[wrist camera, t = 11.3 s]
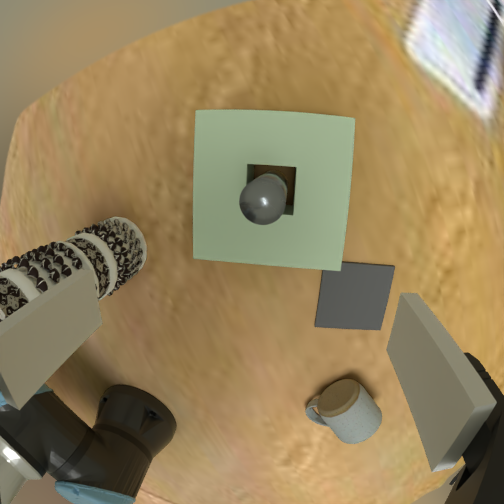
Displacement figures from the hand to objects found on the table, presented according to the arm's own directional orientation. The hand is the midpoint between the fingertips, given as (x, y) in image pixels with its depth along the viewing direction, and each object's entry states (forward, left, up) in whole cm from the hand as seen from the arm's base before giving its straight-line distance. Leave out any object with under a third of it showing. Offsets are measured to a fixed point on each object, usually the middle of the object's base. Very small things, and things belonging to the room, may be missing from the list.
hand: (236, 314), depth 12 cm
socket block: (0, +3, -25) cm, 25 cm away
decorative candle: (-20, -6, -25) cm, 32 cm away
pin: (0, +3, -25) cm, 25 cm away
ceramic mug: (+12, -28, -25) cm, 39 cm away
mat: (+11, -10, -24) cm, 29 cm away
